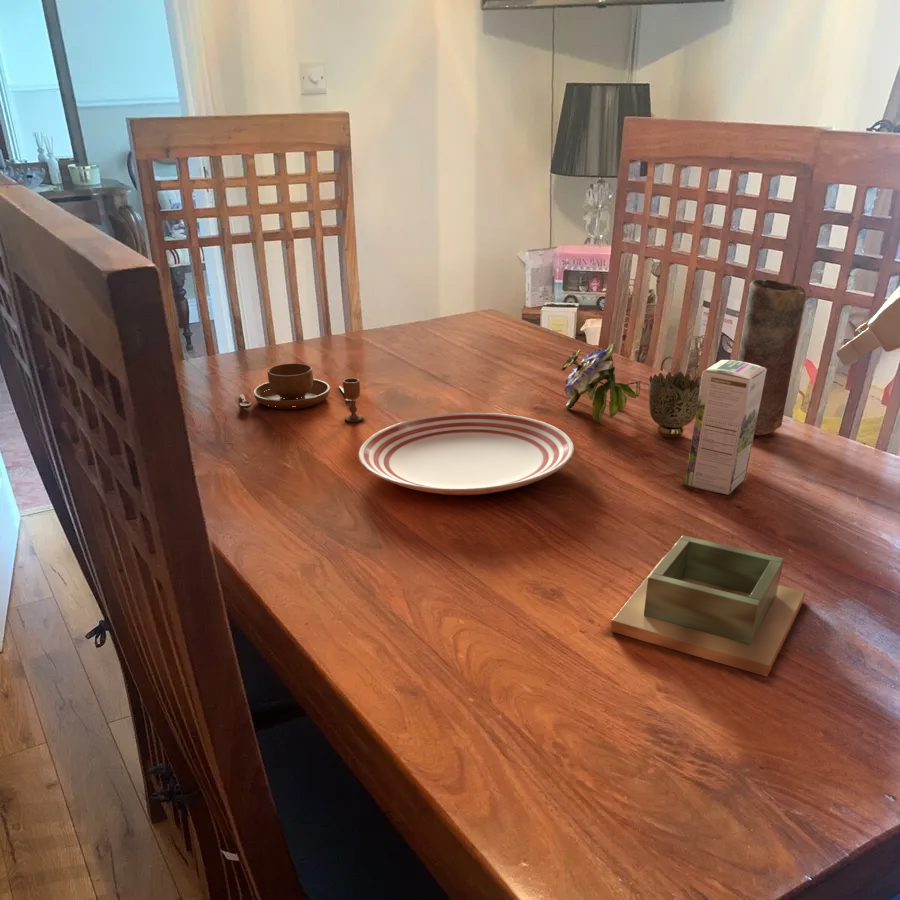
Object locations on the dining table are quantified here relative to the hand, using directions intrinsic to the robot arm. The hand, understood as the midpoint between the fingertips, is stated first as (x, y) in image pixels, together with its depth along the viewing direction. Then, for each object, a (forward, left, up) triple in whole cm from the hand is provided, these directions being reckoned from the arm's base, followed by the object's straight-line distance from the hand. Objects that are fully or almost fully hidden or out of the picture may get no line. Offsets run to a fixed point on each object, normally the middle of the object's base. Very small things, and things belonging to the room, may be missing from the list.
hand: (849, 347), depth 92 cm
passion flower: (+39, -7, -18) cm, 44 cm away
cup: (+25, -6, -18) cm, 32 cm away
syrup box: (+11, +4, -18) cm, 22 cm away
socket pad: (-6, +31, -18) cm, 36 cm away
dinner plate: (+36, +23, -18) cm, 46 cm away
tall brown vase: (+18, -16, -18) cm, 30 cm away
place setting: (+72, +25, -18) cm, 78 cm away
